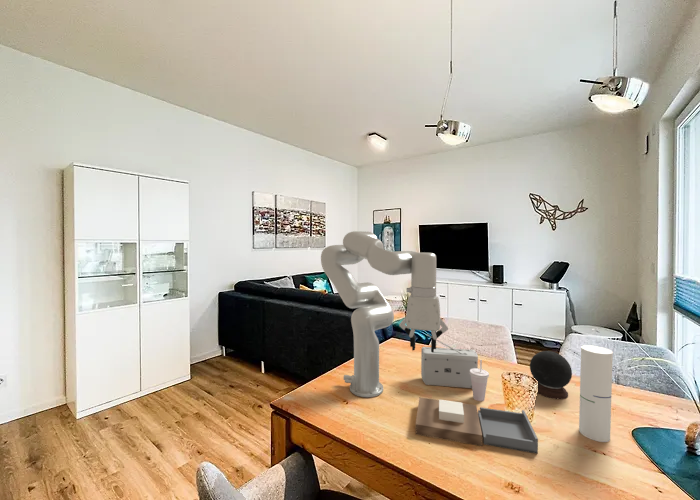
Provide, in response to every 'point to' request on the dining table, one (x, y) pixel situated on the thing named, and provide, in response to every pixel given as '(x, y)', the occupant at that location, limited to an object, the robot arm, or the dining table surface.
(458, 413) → the tile
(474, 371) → the smoothie
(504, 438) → the tray
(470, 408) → the board
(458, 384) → the stereo radio cassette player
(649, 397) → the dining table surface
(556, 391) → the round black desktop speaker
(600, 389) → the cylindrical container
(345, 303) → the robot arm
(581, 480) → the dining table surface
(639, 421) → the dining table surface
